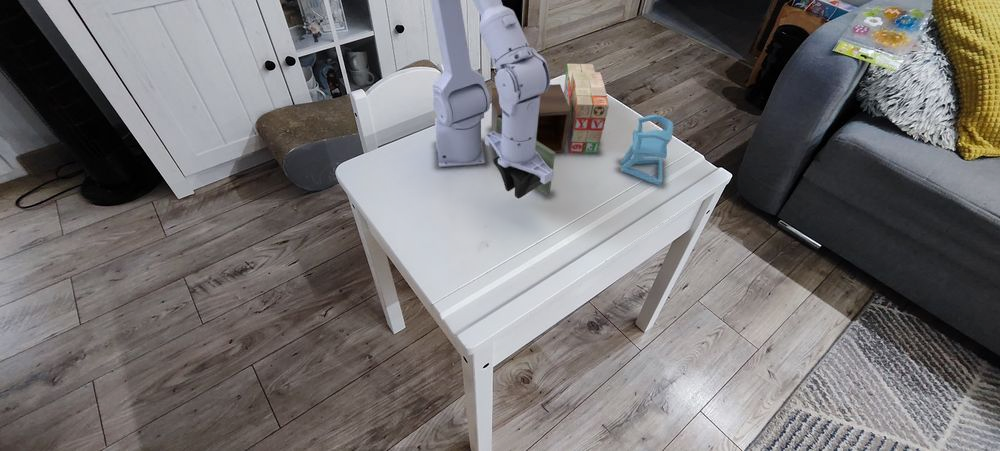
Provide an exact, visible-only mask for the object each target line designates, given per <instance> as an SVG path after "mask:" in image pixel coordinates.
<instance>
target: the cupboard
mask: <svg viewBox="0 0 1000 451" xmlns="http://www.w3.org/2000/svg"><path fill="white" fill-rule="evenodd" d="M570 113H571V110H570V108H569V105H568V103H567V100H566V98H565V95H564V89H563V88H562V86H561V84H560V83H558V84H550V86H549V88H548V90H547V91H546V92H544V93H542V94H540V105H539V115H538V126H537V136H536V140H537V141H538V142H540V143H541V144H543V145H544V146H546V147H548V148H549V149H551V150H552V151H554V152H555V155H557V154H559V155H560V154H565V150H566V145H567V139H568V137H567V135H568V134H567V132H568V126H569V119H570ZM499 117H500V118H502V108H501V107H500V104H499V94H498V91H497V88H496V87H491V132H492V131H494V132H496V133H497V118H499Z"/></svg>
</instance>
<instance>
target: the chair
mask: <svg viewBox="0 0 1000 451" xmlns="http://www.w3.org/2000/svg"><path fill="white" fill-rule="evenodd" d="M637 121H638V127H637V130H636V129H635V130H634V131H633V133H632V144H631V145H630V147H629V149H628V150H627V151H626V153H625V155H624V156H623V157H622V160H621V161H620V163H621V164H622V166H621V167H620V172H622V173H625V174H627V175H631V176H633V177H635V178H639V179H641V180H644V181H646V182H649V183H651V184H655V185H657V186H661V185H662V183H663V159H666V158H667V156H668V145H669V143H670V142H671V140H672V138H673V131H674V123H673V121H671V120H670V119H668V118H666V117H664V116H661V115H658V114H652V115H646V116H643V117H638V119H637ZM652 121H653V122H657V123H660V124H661V125H663V126H664V127H663V129H662V130H660V129H652V130H648V131H643V123H647V122H652ZM643 164H645V165H647V164H657V166H658V168H657V178H656V177H654V176H652V175H650V174H647V173H644V172H642V171H639V170H637V169H635V168H633V167H632V166H633V165H643Z"/></svg>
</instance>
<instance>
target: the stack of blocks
mask: <svg viewBox="0 0 1000 451" xmlns="http://www.w3.org/2000/svg"><path fill="white" fill-rule="evenodd" d="M563 87H564V88H563V93H564V95H565V98H566V100H567V103H568V105H569V108H570V110H571V113H570V119H569V126H568V132H567V147H568V153H570V154H598V153H599V152H598V151H599V148H600V145H601V139H602V135H603V131H604V128H605V124H606V119H607V115H608V111H609V107H610V104H609V103H610V102H609V100H608V94H607V91H606V86H605V83H604V80H603V77H602V73H601V72H597V71H595V66H594V64H593V63H567V64H566V68H565V79H564V86H563Z"/></svg>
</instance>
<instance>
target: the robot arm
mask: <svg viewBox="0 0 1000 451" xmlns="http://www.w3.org/2000/svg"><path fill="white" fill-rule="evenodd" d="M461 1H462V0H430V5H431V9H432V10H431V11H432V15H433V20H434V26H435V30H436V36H437V42H438V46H439V47H438V48H439V52H440V57H441V61H442V62H441V63H442V67H443V71H442V73H441V75H439V77H438V78H437V79H436V81H435V82H433V84H432V92H433V102H432V104H433V108H434V112H435V115H436V117H435V118H434V127H435V138H436V142H435V151H436V152H437V157H438V166H439V167H440V168H447V167H459V166H460V167H461V166H473V165H484V164H485V163H486V160H485V152H484V147H483V141H482V120H483V119H485V113H487V112H489V110H490V107H491V94H490V92H489V90H488V88H487V84H486V81H485V76H484V75H482V74H481V72H478V71H476V70H474V69H473V68H472V65H471V60H470V53H469V46H468V40H467V34H466V27H465V22H464V14H463V9H462V8H463V7H462V2H461ZM472 2H473V4H474V6H475V8H476V10H477V11H478V14H479V15H480V22H479V26H478V31H479V34H480V36H481V39H482V41H483V42H484V45H485V47H486V50H487V51H488V54H489V56H490V59H491V61H492V62H493V65H494V67H495V70H496V74H495V75H494V84H495V88H497V91H498V94H499V104H500V107H501V108H502V135H500V134H498V133H496V132H494V131H492V130H491V131H490V132H489V133H487V134H485V135H484V144H485V145H486V146H487V147H491V146H492V148H493V150H494V151H495V153H496V152H497V154H498V155H499V156H498V157H496V156H495V158H494V159H493V164H494V165H495V167H496V168H497V170H498V171H499V174H500V175H501V178H502V182H503V185H504V188H505V191H507V192H508V193H509V192H511V191H512V190H513V189H514V197H515V198H516V199H521V198H523V197H524V196H526V195H527V194H526V192H527V189H528V187H529V185H530V183H531V181H532V180H533V178H534V177H535V175H536V176H538V177H539V178H541V180H540V182H541V183H543V184H546V183H548V182H549V181H551V180H553V178H554V169H553V170H552V169H551V168H549V167H548V166H547V164H546V163H545V162H544V160H543V159H542V158H541V156H540V155H539V154H538V153H537V151H536V150H535V147H536V136H537V126H538V115H539V105H540V94H542V93H544V92H546V91H547V90H548V88H549V86H550V85H551V72H550V70H549V66H548V63H547V60H546V59H545V58H544V57H543V55H541V54H539V52H537V50H536V48H534V47H530V44H529V42H528V40H527V37H526V35H525V33H524V31H523V29H522V26H521V24H520V22H519V20H518V18H517V15H516V13H515V11H514V10H513V9H511V8H510V7H507V6H505V5H503V2H502V0H472ZM551 182H552V181H551ZM525 194H526V195H525ZM522 196H523V197H522Z"/></svg>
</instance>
